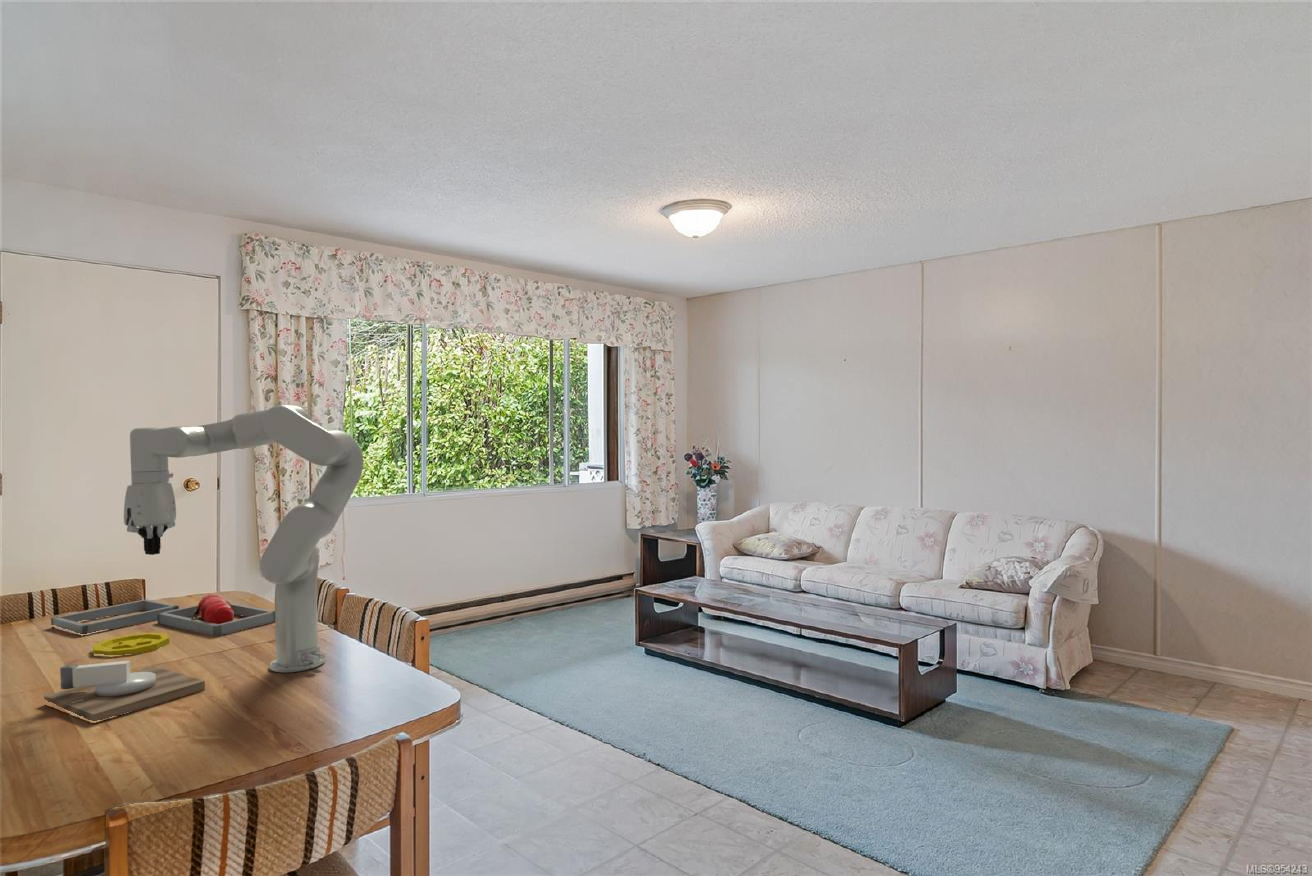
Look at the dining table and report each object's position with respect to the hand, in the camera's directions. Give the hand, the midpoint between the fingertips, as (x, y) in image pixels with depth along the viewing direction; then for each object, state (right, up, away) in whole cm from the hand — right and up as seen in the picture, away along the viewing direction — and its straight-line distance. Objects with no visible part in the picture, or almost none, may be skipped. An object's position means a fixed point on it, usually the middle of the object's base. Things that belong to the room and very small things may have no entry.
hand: (152, 553), depth 182 cm
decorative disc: (-21, -30, +22) cm, 42 cm away
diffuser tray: (-45, -29, +50) cm, 73 cm away
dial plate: (+5, -29, -16) cm, 34 cm away
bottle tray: (-12, -28, +47) cm, 56 cm away
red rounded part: (-14, -29, +47) cm, 56 cm away
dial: (+2, -27, -17) cm, 32 cm away
